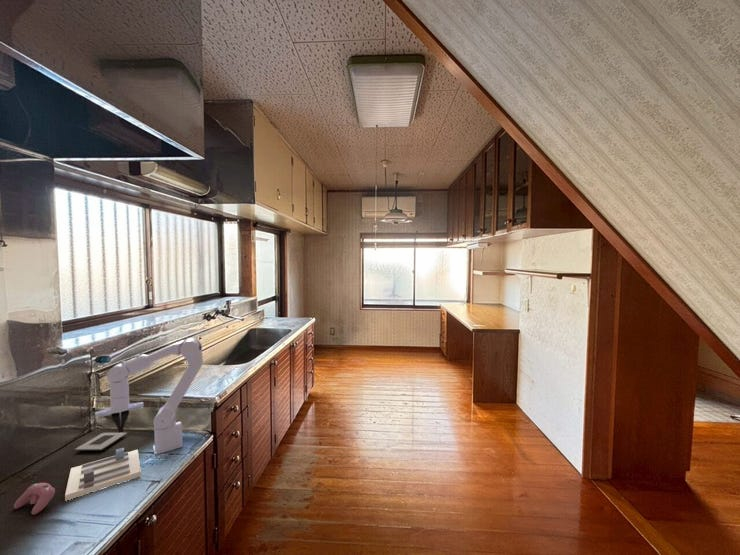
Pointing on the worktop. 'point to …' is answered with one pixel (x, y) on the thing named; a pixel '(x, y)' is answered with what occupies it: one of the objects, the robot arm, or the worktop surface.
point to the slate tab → (119, 453)
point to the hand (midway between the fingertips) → (120, 431)
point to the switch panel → (103, 474)
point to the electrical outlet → (100, 442)
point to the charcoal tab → (89, 475)
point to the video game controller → (36, 496)
